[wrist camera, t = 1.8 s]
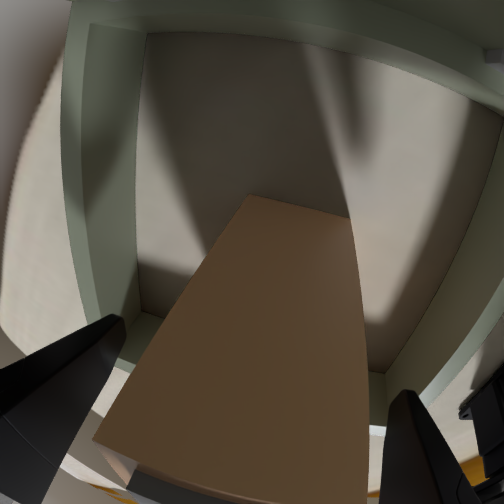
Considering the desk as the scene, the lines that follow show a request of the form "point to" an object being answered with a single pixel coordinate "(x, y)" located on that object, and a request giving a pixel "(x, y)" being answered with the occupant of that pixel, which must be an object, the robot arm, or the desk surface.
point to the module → (253, 373)
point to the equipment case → (299, 30)
